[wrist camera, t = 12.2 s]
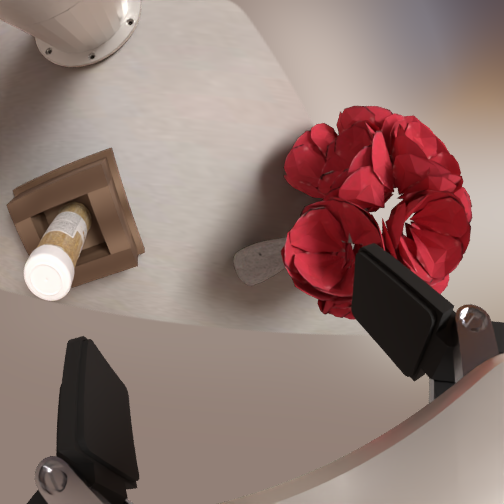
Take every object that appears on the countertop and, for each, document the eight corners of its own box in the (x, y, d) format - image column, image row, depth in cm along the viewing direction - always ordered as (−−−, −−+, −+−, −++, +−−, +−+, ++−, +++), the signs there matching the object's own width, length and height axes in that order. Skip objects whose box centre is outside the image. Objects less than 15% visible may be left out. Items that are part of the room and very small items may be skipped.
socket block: (16, 187, 27) (-1, 201, 23) (111, 147, 30) (105, 155, 26) (56, 278, 34) (48, 301, 30) (144, 248, 37) (145, 269, 33)
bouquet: (292, 259, 55) (446, 191, 40) (284, 383, 38) (507, 314, 23) (213, 171, 44) (395, 67, 29) (159, 299, 27) (501, 143, 12)
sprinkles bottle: (86, 240, 33) (66, 309, 21) (54, 229, 30) (20, 293, 19) (97, 207, 31) (75, 265, 20) (63, 194, 29) (25, 247, 18)
